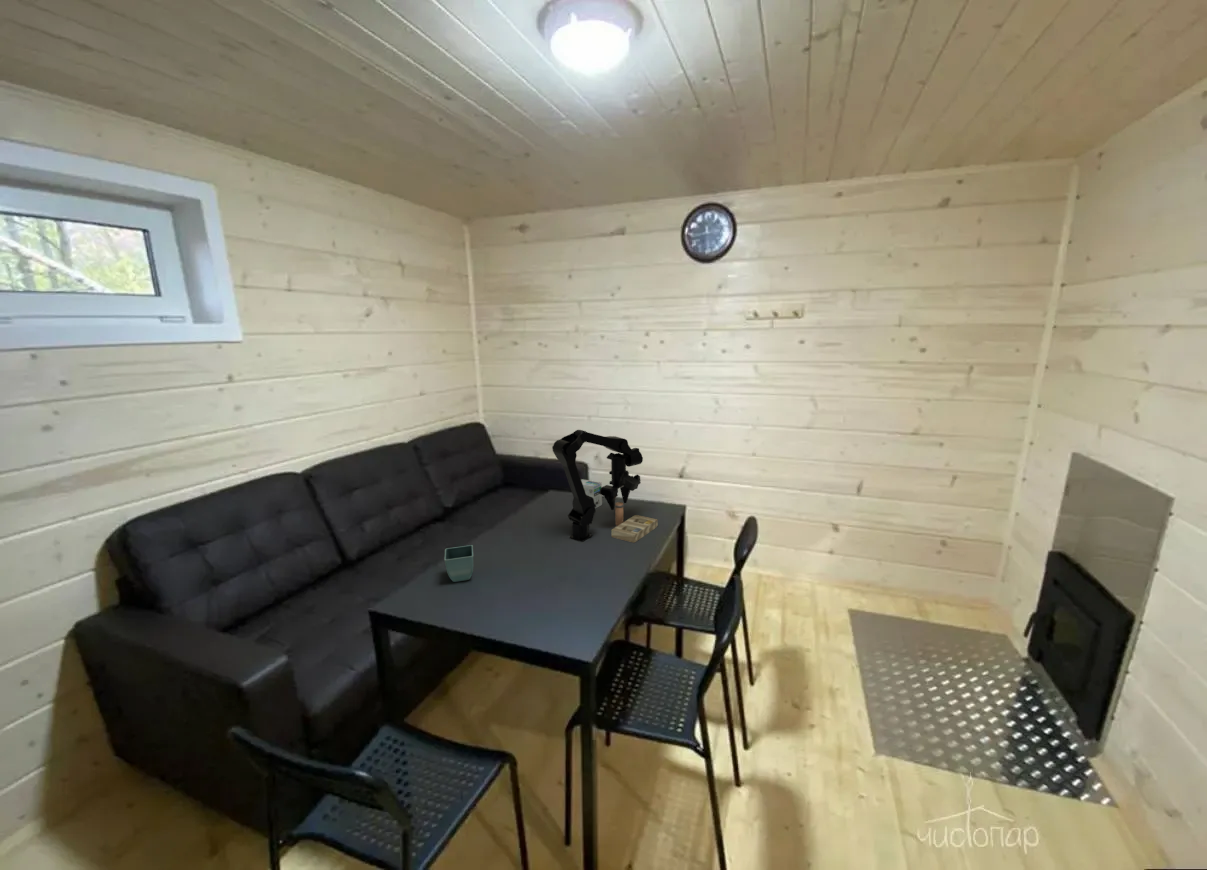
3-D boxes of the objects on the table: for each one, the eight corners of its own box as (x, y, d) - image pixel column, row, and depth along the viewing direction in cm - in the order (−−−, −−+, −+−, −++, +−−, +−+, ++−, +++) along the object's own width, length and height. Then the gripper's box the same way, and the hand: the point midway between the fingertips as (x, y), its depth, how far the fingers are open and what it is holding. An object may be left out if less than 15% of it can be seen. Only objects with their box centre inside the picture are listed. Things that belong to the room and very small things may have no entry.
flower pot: (446, 586, 159) (444, 560, 157) (447, 573, 167) (444, 548, 165) (475, 582, 161) (473, 556, 159) (474, 569, 169) (472, 544, 167)
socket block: (634, 542, 187) (634, 534, 187) (611, 537, 193) (611, 529, 192) (657, 526, 202) (657, 518, 201) (635, 521, 207) (635, 514, 207)
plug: (620, 526, 202) (620, 505, 200) (613, 525, 204) (613, 503, 202) (625, 524, 205) (625, 502, 203) (618, 522, 207) (617, 501, 205)
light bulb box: (602, 504, 228) (602, 481, 225) (594, 509, 222) (593, 486, 220) (583, 501, 233) (582, 478, 231) (574, 505, 228) (573, 482, 225)
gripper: (623, 477, 188) (623, 517, 191) (648, 466, 203) (648, 503, 206) (598, 473, 194) (599, 512, 197) (624, 462, 209) (624, 498, 212)
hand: (619, 506), depth 203 cm, fingers open, 9 cm apart
